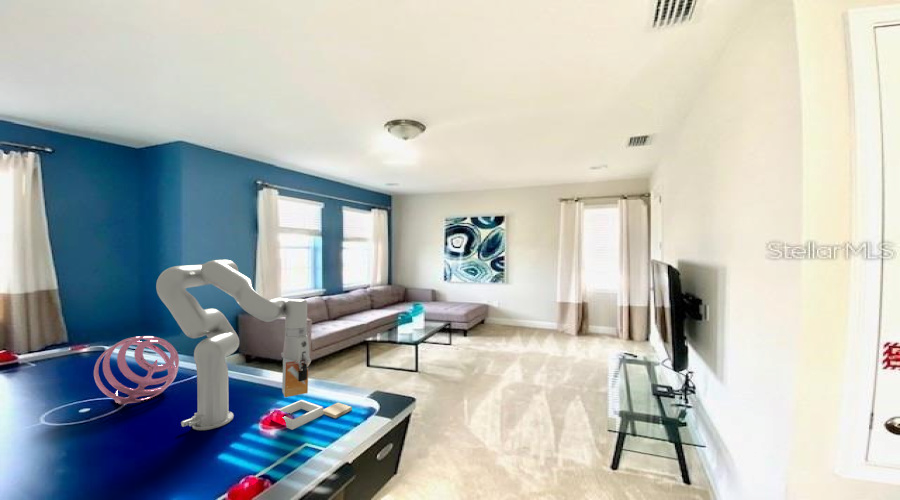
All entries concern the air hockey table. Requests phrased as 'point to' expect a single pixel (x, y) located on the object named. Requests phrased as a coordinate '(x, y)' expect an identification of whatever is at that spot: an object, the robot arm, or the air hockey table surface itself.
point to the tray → (312, 414)
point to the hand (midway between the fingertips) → (295, 377)
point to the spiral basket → (142, 363)
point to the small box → (293, 379)
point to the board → (336, 410)
